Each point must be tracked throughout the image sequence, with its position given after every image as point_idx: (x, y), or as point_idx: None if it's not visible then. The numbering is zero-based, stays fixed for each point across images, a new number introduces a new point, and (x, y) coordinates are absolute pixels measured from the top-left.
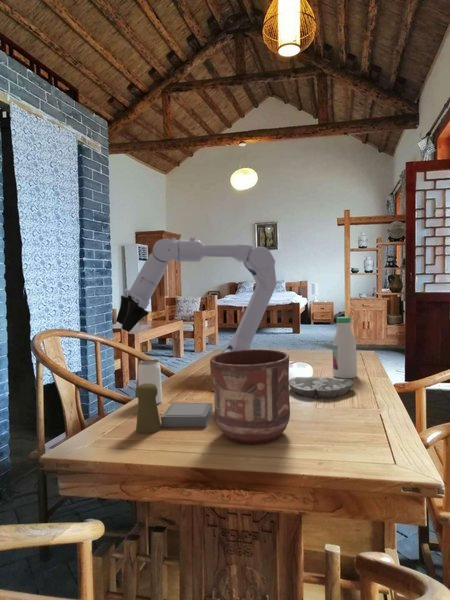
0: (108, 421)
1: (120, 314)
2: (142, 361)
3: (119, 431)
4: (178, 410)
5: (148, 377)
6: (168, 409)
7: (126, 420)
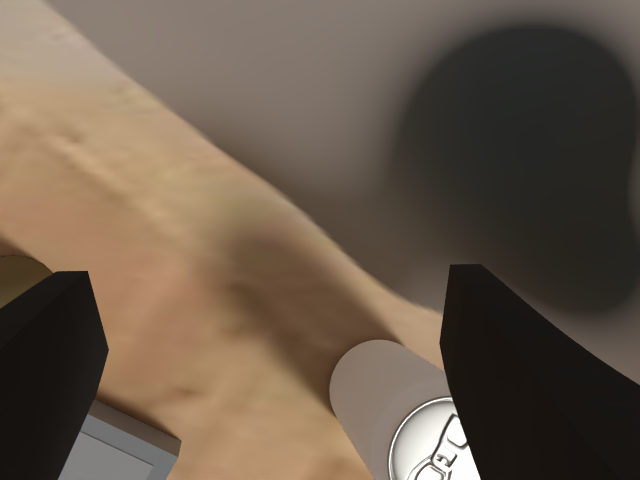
0: (207, 176)
1: (484, 341)
2: None
3: (52, 195)
4: None
5: (361, 413)
6: (90, 424)
7: (180, 245)
